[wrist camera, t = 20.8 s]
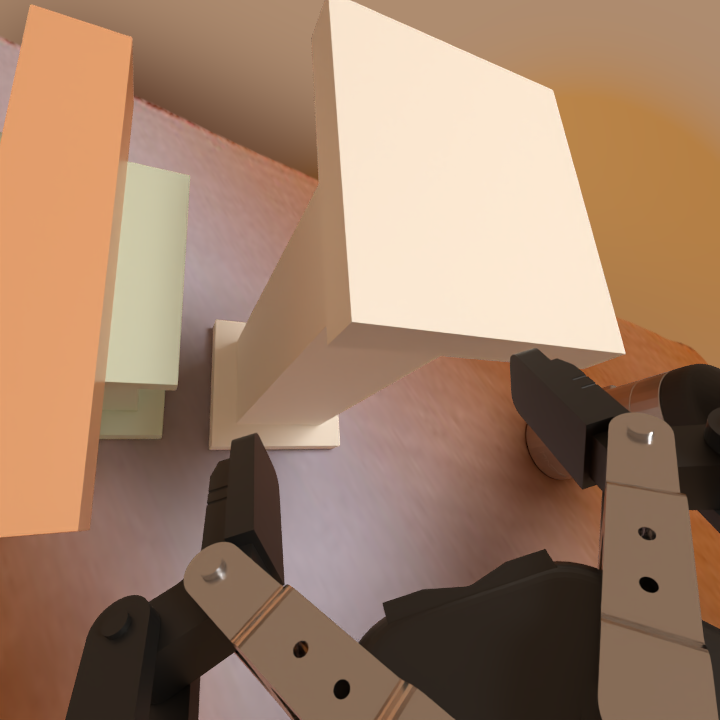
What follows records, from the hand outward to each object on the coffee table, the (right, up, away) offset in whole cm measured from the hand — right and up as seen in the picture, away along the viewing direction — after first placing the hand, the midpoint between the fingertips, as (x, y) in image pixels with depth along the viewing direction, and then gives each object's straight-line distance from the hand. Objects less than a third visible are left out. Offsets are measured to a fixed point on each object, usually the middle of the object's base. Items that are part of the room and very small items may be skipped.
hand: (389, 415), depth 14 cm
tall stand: (-10, -1, +31) cm, 33 cm away
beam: (-14, +5, +7) cm, 17 cm away
